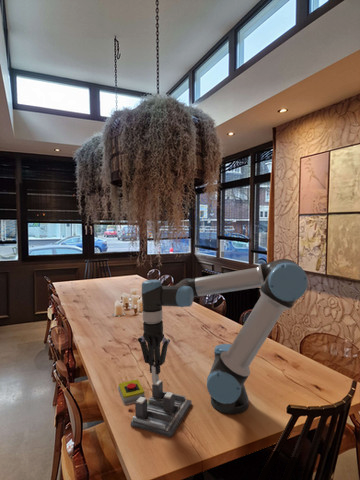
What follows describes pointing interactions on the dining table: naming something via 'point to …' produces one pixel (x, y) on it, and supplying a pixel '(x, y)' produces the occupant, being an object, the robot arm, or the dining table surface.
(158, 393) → the breaker far
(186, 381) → the dining table surface
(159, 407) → the panel
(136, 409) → the block
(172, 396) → the block
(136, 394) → the emergency button
